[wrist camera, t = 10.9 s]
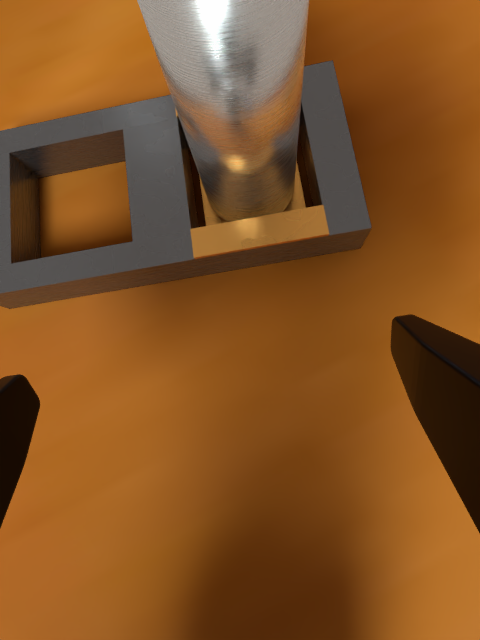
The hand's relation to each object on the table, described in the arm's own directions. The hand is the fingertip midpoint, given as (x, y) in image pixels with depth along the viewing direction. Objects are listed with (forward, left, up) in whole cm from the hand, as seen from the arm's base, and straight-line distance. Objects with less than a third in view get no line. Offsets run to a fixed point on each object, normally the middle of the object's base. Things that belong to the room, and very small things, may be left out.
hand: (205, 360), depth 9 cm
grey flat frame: (+8, -8, -11) cm, 15 cm away
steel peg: (+3, -10, -10) cm, 15 cm away
